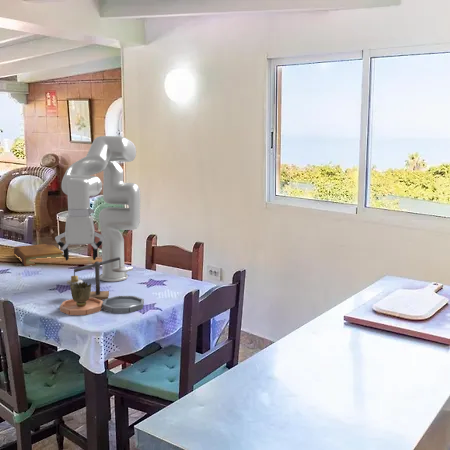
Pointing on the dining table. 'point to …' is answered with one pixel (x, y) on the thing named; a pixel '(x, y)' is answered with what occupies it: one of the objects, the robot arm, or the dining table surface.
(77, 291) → the cup
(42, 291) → the dining table surface
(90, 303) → the dish terracotta
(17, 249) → the diary
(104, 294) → the balance
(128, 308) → the dish slate
